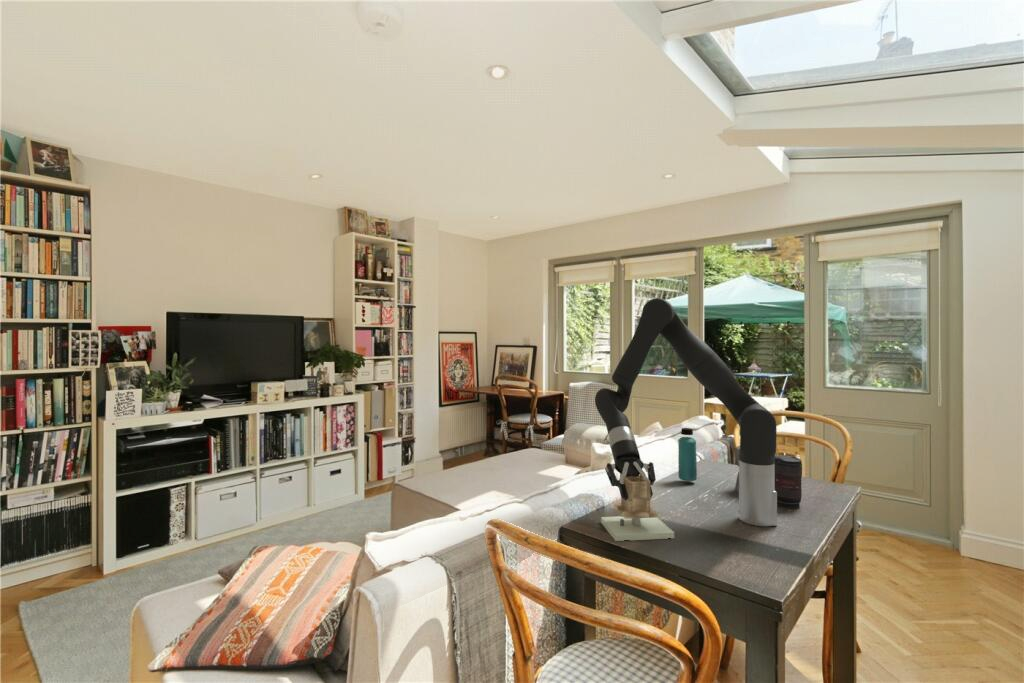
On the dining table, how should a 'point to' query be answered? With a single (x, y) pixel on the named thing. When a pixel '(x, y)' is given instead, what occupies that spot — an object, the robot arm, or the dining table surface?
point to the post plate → (636, 528)
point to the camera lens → (788, 481)
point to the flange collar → (636, 499)
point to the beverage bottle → (687, 456)
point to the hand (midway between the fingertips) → (637, 498)
